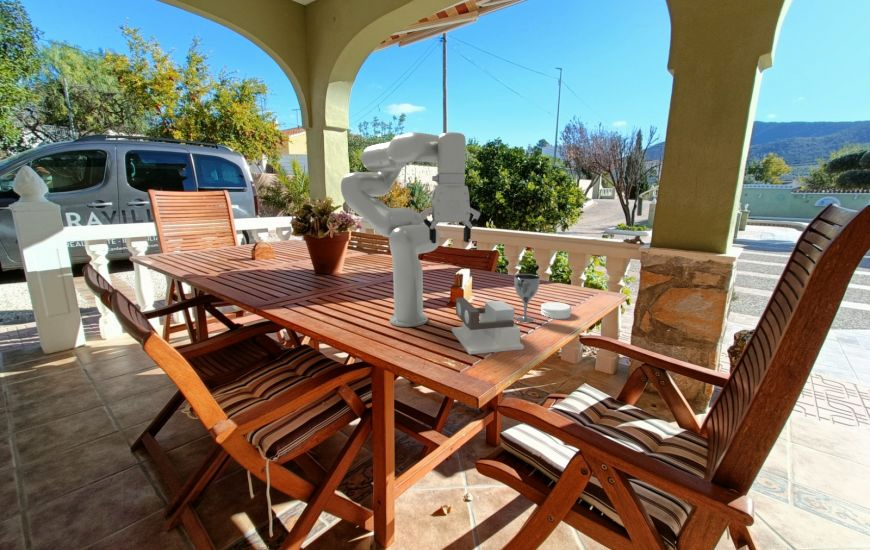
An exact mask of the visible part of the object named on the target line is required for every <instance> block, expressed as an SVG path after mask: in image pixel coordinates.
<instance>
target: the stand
mask: <svg viewBox="0 0 870 550" xmlns="http://www.w3.org/2000/svg"><path fill="white" fill-rule="evenodd" d="M484 307H485V313H480V314H479V323H480V322H492V321H504V320H513V321H514V326H513V327H501V328H490V329H478V330H470V329H469V328H468V327H467V326H466V325H465V324H464V322H463V321H462V320H461V321H462V326H458V327H454V326H453V327H451V332H452V334H453V336H455V337H456V339H457V340H458V341H459V343H460V344H461V346H462V347H463V348H464V349H465V351H466V352H467V353H468V354H469V356H470V355H479V354H487V353H488V354H489V353H499V352H508V351H517V350H519V351H520V350H524V349H525V345H524V344H523V343H522V342H521V327H520V326H518V325H517V324H516V323H515V320H514V318H515V308H513V306H511V305H509V304H508V303H506V302H505V301H503V300H498V301H497V300H495V301H494V300H493V301H485V302H484Z"/></svg>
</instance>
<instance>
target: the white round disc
mask: <svg viewBox="0 0 870 550" xmlns="http://www.w3.org/2000/svg"><path fill="white" fill-rule="evenodd" d="M571 313H572V307H571V305H569V304H567V303H564V302H559V301H546V302H544V303H542V304H541V305H540V314H541V315H542V316H543V315H544V316H543V317H545V316H546V317H545V318H547V317H550V318H549V319H552V318H554V319H553V320H564V319H569V318H570V317H571Z"/></svg>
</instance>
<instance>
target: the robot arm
mask: <svg viewBox="0 0 870 550" xmlns="http://www.w3.org/2000/svg"><path fill="white" fill-rule="evenodd" d="M466 143H467V139H466V136H465V134H463V133H461V132H455V131H454V132H443V133H440V134H439V135H437V134H433V133H431V134H430V133H423V132H407V133H404V134H400V135H395V136H393V138H392V139H391V140H390V141H387V142H382V143H377V144H373V145H369V146H367V147H366V148H364V150H363V151H362V153H361V156H360V160H361V163H362V165H363V167H365V168H366V169H367V170H368V171H354V172H349V173H347V174H346V175H344V177H342V179H341V181H340V191H341V195H342V197H343V200H344V202H345V203H346V205H347V206H348V207H349V208H350V210H352V211H353V212H354V213H355V214H357V216H359V217H361V218H362V219H363V220H364V221H365V222H366V223H367V224H368V225H369V226H370V227H371V228H373V229H374V230H375V231H376V232H377V233H378V234H379V235H380V236H382V237H383V238H388V245H389V249H390V254H391V260H392V261H391V262H392V278H393V280H392V281H393V311H394V312H393V314H392V315H391V316H390V317H389V323H390V324H391V325H393V326H396V327H401V328H402V327H403V328H414V327H419V326H422V325H424V324H426V323H427V322H428V320H429V319H428V315H426V314H425V313H424V298H423V297H424V292H423V291H424V285H423V284H424V283H423V281H424V280H423V279H424V278H423V276H424V275H423V265H422V263H421V261H420V259H419V257H418V255H421V254H426V253H430V252H434V251H435V250H436V249H437V248H438V247H439V245H440V233H439V231H438V229H437V228H436V226H437V225H438V224H439V223H462V224H463V225H464V227H463V242H465V243H470V240H471V237H472V235H471V234H472V233H471V232H472V231H471V230H472V228H473V227H474V225H476V224H477V222H478V220H479V218H480V216H481V212H480V211H478V210H476V209H474V208H472V207H471V206H470V205H471V204H470V193H469V187H468V185H465V183H466V182H465V181H466V180H465V179H466V174H465V173H466ZM409 162H410V163H411V162H418V163H419V162H420V163H431V164H432V163H433V164H437V171H436V172H437V173H436V175H433V176H432V182H436V184H437V185H435V186H434V188H433V189H434V191H433V194H432V195H433V197H432V203H431V204H432V205H431V206H430V207H428V208H426V209H424V210H423V211H420V213H419V212H417V211H415V210H414V209H411V208H408V207H401V208H400V207H396V208H395V207H394V208H393V207H390V206H387V204H385V203H384V202H382V201H381V200H380V199H378V198H376V197H384V196H385V195H387V194H388V193H389V192H390V190H391V189H392V187H393V185H394V183H395V182H396V180H397V179H398V177H399V175H400V173H401V171H402V169H403V168H405V167H406V166H407V164H408V163H409ZM429 214H431V218H432V220H431V221H430V220H429V219H428V218H427V216H428V215H429ZM471 214H472V215H473V216H472V218H471Z"/></svg>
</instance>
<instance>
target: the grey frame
mask: <svg viewBox="0 0 870 550" xmlns="http://www.w3.org/2000/svg"><path fill="white" fill-rule="evenodd" d="M480 313H485V306H483V307H475V306H474V305H473V304H471V302H469V300H467V299H466V298H465V297H455V314H456V316H457V317H458V319H460V320H461V321H463V322H464V324H465V325H466V326H467V327H468V328H469V329H470V330H478V329H490V328H501V327H513V326H514V323H515V320H514V321H513V320H504V321H492V322H480Z"/></svg>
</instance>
